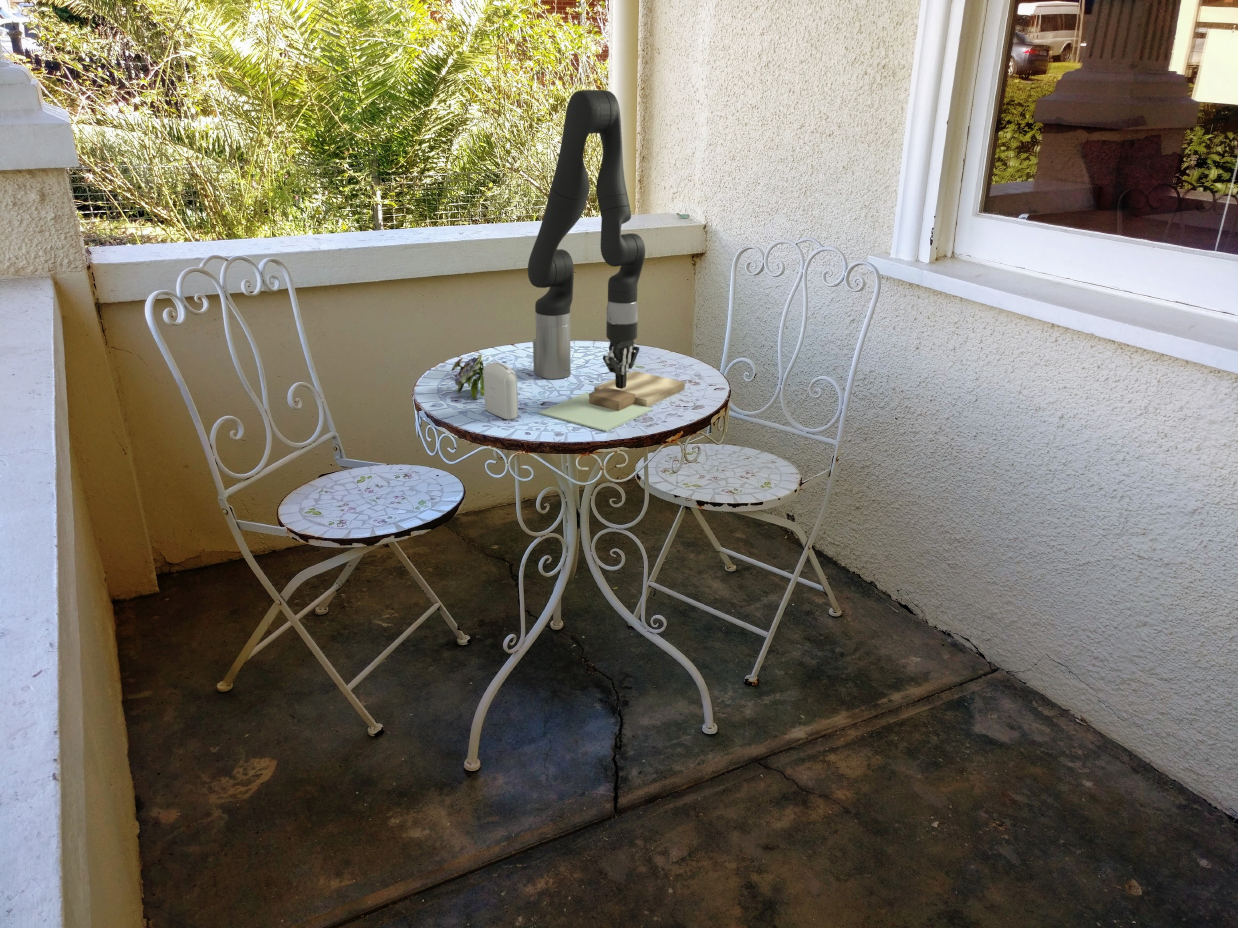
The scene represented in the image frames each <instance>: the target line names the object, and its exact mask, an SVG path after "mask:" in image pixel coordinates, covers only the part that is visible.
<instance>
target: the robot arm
mask: <svg viewBox="0 0 1238 928" xmlns="http://www.w3.org/2000/svg"><path fill="white" fill-rule="evenodd" d="M620 110H621V109H620V105H619V101H618V99H617V97H616V95H615V94H614V93H613V92H611V91H609V90H605V89H583V90H582V89H579V90H577V91H575V92H573V94H572V95H571V97H570V99H569V100H568V103H567V106H566V110H565V111H566V112H565V117H564V124H563V129H562V137H561V142H560V148H559V154H558V158H557V162H556V167H555V170H554V175H553V177H552V182H551V184H550V189H549V191H548V196H547V201H546V207H545V210H544V214H543V218H542V221H541V225H540V228H539V231H538V233H537V236H536V238H535V241H534V245H533V246H532V247H533V248H532V250H531V253H530V255H529V259H528V263H527V276H528V281H529V282H530V284H531V285H532V286H533V287H536V288H538V289H546V288H549V289H548V291H547V292H546V293H545V294H544V295H543V296H542V297H540V298H538V299H537V300H536V301H535V306H534V307H535V308H534V309H535V312H534V313H535V338H533V340H532V354H533V355H532V358H533V360H532V361H533V374H535V375H536V376H537V377H539V378H543V379H548V380H555V379H557V380H559V379H560V380H561V379H564V378H568V377H570V376H571V307H572V304H573V299H574V298H573V297H574V295H573V294H574V277H575V276H574V274H575V273H574V272H575V271H574V262H573V258H572V256H571V254H570V253H569V252H568V251H567V250H565V249H562V248H561V249H558V247H559V245H560V243H561V242H562V241H563V239H564V238H565V237H566V235H567V234H568V233H569V232H570V231H571V230H572V229H573V228H574V226H575V225H576V224H577V223H578V222H579V220H580V218H581V217H582V216H583V214H584V211H585V208H586V204H587V201H588V197H589V194H590V179H589V178H590V177H589V175H588V172H587V169H586V165H585V161H584V153H585V152H584V151H585V147H586V143H587V140H588V139H587V138H588V136H589V135H590V134H599V137H600V140H601V147H602V156H601V157H602V158H601V162H600V167H599V171H598V175H597V179H596V189H595V190H596V191H595V192H596V197H597V203H598V204H597V205H598V208H599V213H600V216H601V217H600V218H601V225H600V254H601V257H602V258H603V260H604V262H605V263H606V264H607V265H608V266H610V267H613V268H614V267H620V268H619V271H618V272H616V273H615V274H613V275H611V276H610V277H609V278H608V282H607V306H606V327H605V328H606V330H605V331H606V335H605V336H606V339H608V340H609V346H608V350H609V351H608V353H607V354H606V355H605V354H604V355H603V356H602V360H603V362H604V364H605V365H606V367H607V369H608V370H609V373H614V374H615V378H614V379H615V380H616V381H615V385H616V387H617V388H620V389H623V388H625V387H626V380H627V374H628V373H629V371H630V370H632V368H633V366H634V364H635V362H636V359H637V357H638V354H639V351H640V347H639V346H636V345H635V342H634V341H635V340H636V339H638V312H639V308H638V283H639V279H640V277H641V273H642V269H643V266H644V264H645V263H644V262H645V257H646V247H645V242H644V239H643V238H642V237H641V236H640V235H639V234H637V233H634V232H633V233H632V232H631V233H623V234H622V233H621V232H622V225H623V224H626V223H627V222H630V220H631V218H632V211H631V206H630V202H629V201H630V200H629V195H628V191H627V186H626V180H625V172H624V158H623V157H624V156H623V155H624V153H623V136H622V135H623V134H622V119H621V111H620Z"/></svg>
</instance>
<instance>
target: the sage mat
mask: <svg viewBox="0 0 1238 928" xmlns="http://www.w3.org/2000/svg"><path fill="white" fill-rule="evenodd" d="M590 393H591V392H588V391H587V392H584V393H581V394H579V395H577V396H574V397H572V398H569V399H567V400H565V401H562V402H560V403H558V404H555V405H553V406H550V407H547V408H546V409H543V410H540V411H539V412H538V415H543V416H546V417H550V418H554V419H557V420H561V421H565V422H567V423H568V422H569V423H572V424H576V425H579V424H580V426H582V425H584V426H583V427H587V428H590V427H591V428H590V429H593V428H594V430H598V431H601V430H602V431H601V432H604V431H606V433H608V432H609V430H610V431H612V430H613V428H614V429H616V428H617V427H618V428H619V427H620V426H622V425H624V424H626V423H628V422H630V421H633V420H635V419H636V417H637V418H639V417H640V416H642V415H643V416H644V415H645V414H647V413H650V412H651V411H652V410H653V408H652V407H650V406H649V407H645V406H641V405H637V404H633V405H631V406H629V407H627V408H625V409H622V410H620V411H616V410H612V409H609V408H605V407H601V406H597V405H593V404H589V394H590ZM638 416H639V417H638ZM607 431H608V432H607Z"/></svg>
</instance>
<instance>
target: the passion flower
mask: <svg viewBox="0 0 1238 928" xmlns="http://www.w3.org/2000/svg"><path fill="white" fill-rule="evenodd" d="M462 360H463V357H461V358H459V359H458V360H456V361H455V363H454V364H453V365H452V367H451V368H452V369H451V371H452V372H453V371H455V369H457V368H459V371H458V372H457V373H456V374H455V376H454V377H455V379H454V384H455V385H456V386H457V388H456V392H457V393H460V392H462V391H463V388H464V386H465V384H467V386H468V387H469V388H470V392H471V393H470V394H471V398H472V399H474V400H476V401H477V399H478V398H477V396H478V394H479V393H480V396H481V398H483V396H484V379H483V370H484V367H485V365H484V361H483V359H482V353H481V354H478V355H477V357H476V356H474V357H471V358H469V359H467V360H466V361H464V364H463V365H461V362H462ZM474 377H475V378H474ZM479 383H480V385H479ZM479 386H480V387H479ZM479 391H480V392H479Z"/></svg>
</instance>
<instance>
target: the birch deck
mask: <svg viewBox="0 0 1238 928" xmlns="http://www.w3.org/2000/svg"><path fill="white" fill-rule="evenodd" d="M615 381H616V380H615V378H613V379H612V380H609V381H606V382H604V383H601V384H599V385H596V386H594V387H593V392H595V391H597V390H600V389H602V388H604V387H608V388H613V389H617V390H621V391H625V392H629V393H633V394H635V404H637V405H641V406H645V407H649V408H650V406H651V407H652V406H653V405H655V404H657V403H659V402H662V401H663V400H666V399H668V398H671V397H672V396H674V395H676V394H678V393H680V392H683V391H684V390H685V388H686V382H684V381H681V380H678V379H677V380H676V379H673V378H667V377H664V376H659V375H654V374H651V373H650V374H649V373H647V372H645V373H644V372H642V371H641V372H640V371H638V370H637V371H636V370H633V371H630V372H628V373H627V380H626V387H625V388H623V389H620V388H617V387H616V385H615Z"/></svg>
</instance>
